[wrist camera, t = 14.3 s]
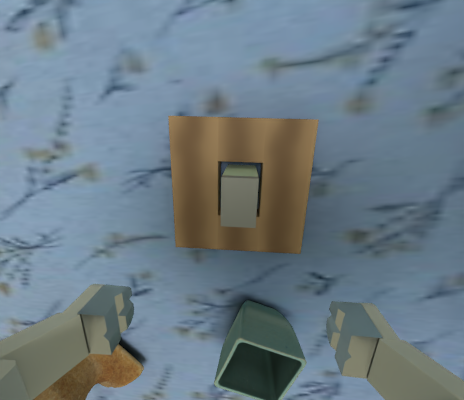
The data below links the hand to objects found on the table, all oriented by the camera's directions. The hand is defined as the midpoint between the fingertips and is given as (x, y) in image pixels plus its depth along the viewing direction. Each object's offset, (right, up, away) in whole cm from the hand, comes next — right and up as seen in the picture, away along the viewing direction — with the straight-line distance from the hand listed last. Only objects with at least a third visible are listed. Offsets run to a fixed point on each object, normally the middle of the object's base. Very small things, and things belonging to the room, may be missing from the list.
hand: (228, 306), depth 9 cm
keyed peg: (+1, +6, +20) cm, 21 cm away
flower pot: (+4, -14, +27) cm, 30 cm away
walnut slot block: (+1, +6, +20) cm, 21 cm away
